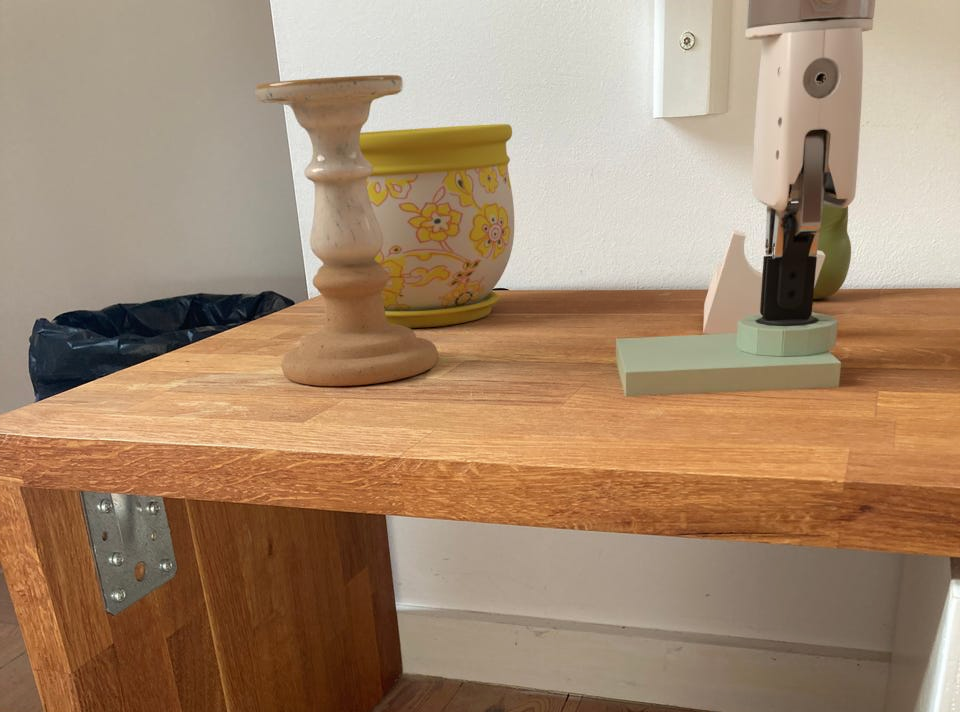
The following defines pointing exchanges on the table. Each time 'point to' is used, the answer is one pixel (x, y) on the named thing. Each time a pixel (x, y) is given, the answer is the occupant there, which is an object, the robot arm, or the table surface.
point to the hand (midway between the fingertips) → (785, 316)
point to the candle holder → (346, 240)
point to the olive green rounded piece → (833, 251)
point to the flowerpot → (441, 220)
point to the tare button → (788, 322)
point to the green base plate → (732, 359)
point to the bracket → (736, 289)
